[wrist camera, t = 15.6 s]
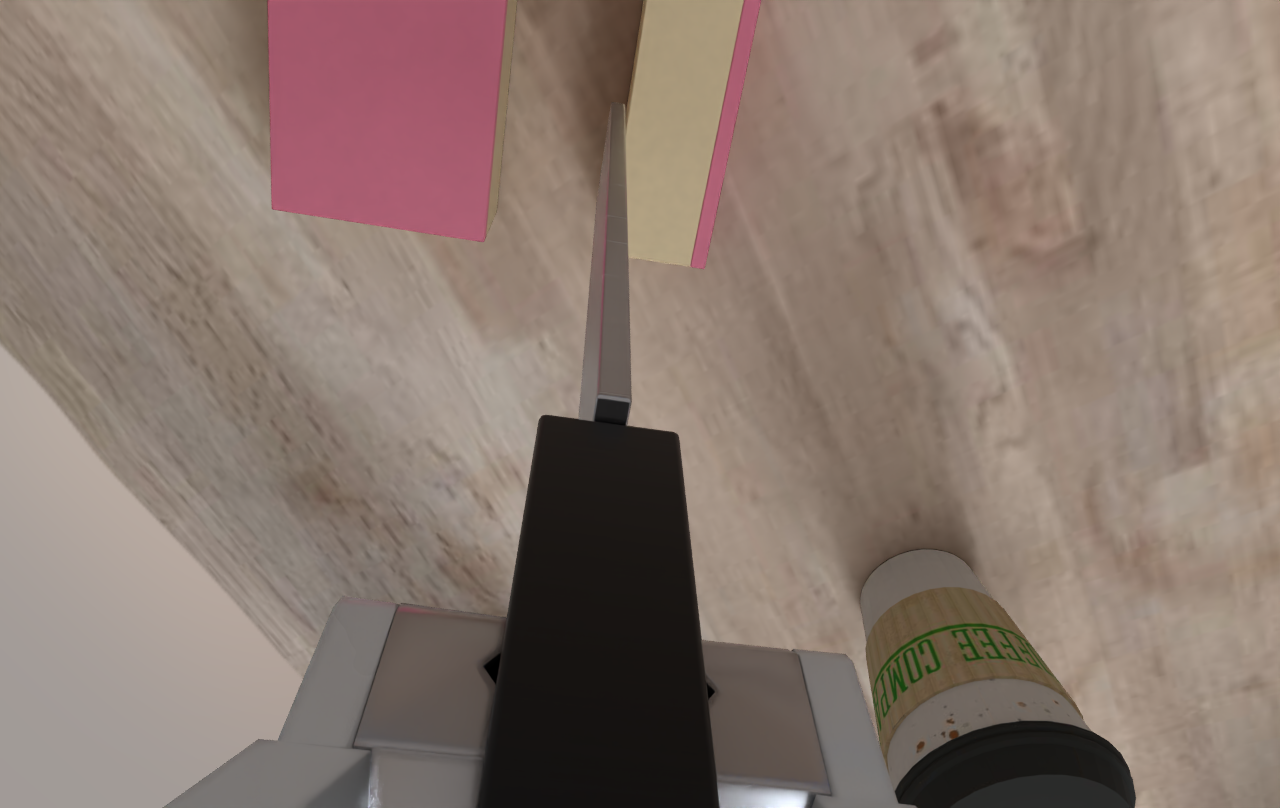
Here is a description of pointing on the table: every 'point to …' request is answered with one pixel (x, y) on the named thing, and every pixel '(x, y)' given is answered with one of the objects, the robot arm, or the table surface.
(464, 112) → the cake
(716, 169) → the cake slice
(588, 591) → the knife
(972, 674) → the coffee cup
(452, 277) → the table surface
